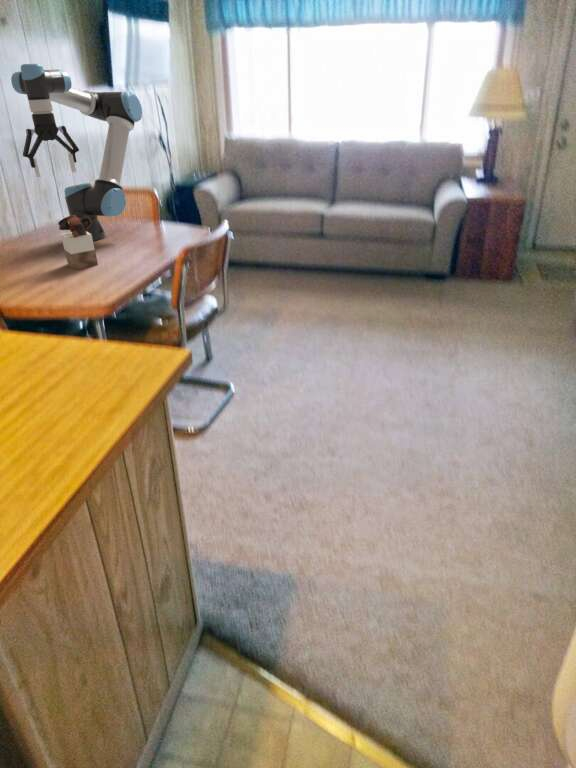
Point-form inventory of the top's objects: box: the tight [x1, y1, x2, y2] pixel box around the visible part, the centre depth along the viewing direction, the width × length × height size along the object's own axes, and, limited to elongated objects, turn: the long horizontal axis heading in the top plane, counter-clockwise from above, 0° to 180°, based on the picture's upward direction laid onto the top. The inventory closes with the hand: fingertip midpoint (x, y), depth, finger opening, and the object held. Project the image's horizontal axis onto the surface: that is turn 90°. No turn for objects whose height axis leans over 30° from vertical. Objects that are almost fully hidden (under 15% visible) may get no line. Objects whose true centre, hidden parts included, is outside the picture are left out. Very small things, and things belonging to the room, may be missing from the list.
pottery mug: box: [57, 215, 92, 238], centre depth 206 cm, size 12×10×8 cm
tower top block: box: [60, 231, 96, 254], centre depth 209 cm, size 9×9×6 cm
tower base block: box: [63, 248, 99, 270], centre depth 212 cm, size 9×9×6 cm
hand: (56, 174), depth 209 cm, fingers open, 13 cm apart
